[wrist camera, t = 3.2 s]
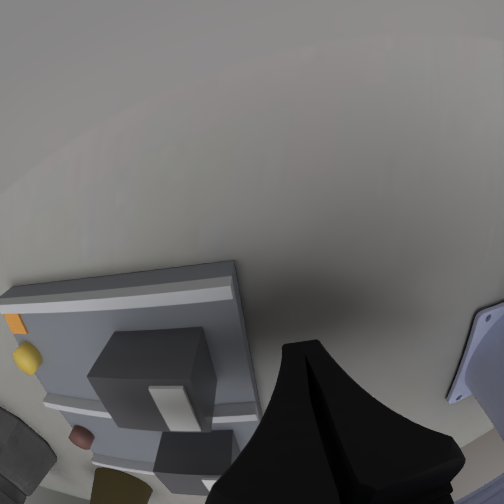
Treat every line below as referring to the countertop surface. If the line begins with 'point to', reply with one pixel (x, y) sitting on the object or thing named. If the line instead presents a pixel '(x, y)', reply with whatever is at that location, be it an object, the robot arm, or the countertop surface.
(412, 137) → the countertop surface
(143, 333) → the toggle
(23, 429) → the coffeepot
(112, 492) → the cork
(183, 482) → the toggle
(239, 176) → the countertop surface
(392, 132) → the countertop surface
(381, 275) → the countertop surface
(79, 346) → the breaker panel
